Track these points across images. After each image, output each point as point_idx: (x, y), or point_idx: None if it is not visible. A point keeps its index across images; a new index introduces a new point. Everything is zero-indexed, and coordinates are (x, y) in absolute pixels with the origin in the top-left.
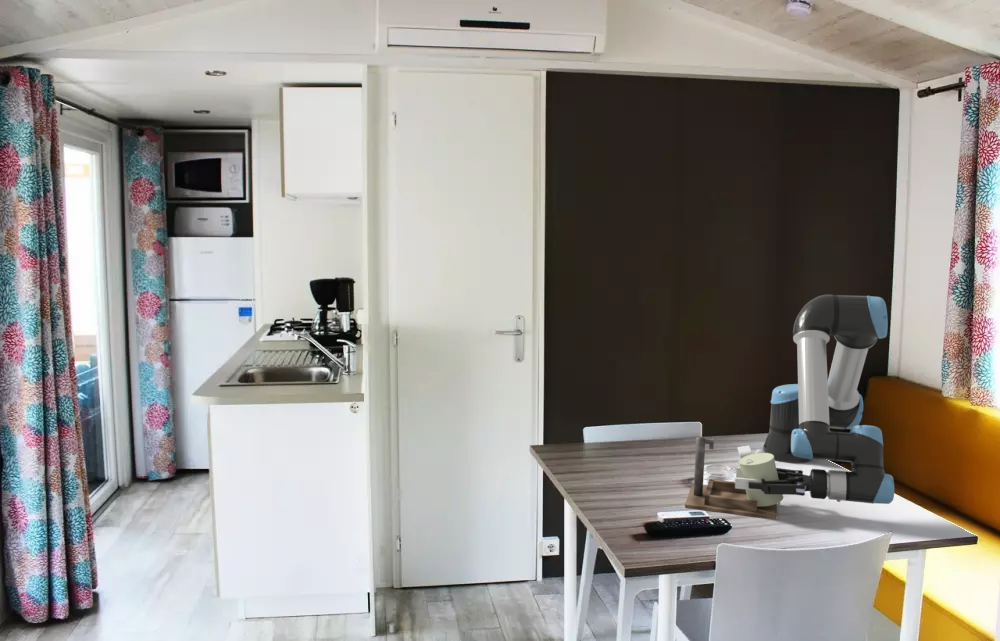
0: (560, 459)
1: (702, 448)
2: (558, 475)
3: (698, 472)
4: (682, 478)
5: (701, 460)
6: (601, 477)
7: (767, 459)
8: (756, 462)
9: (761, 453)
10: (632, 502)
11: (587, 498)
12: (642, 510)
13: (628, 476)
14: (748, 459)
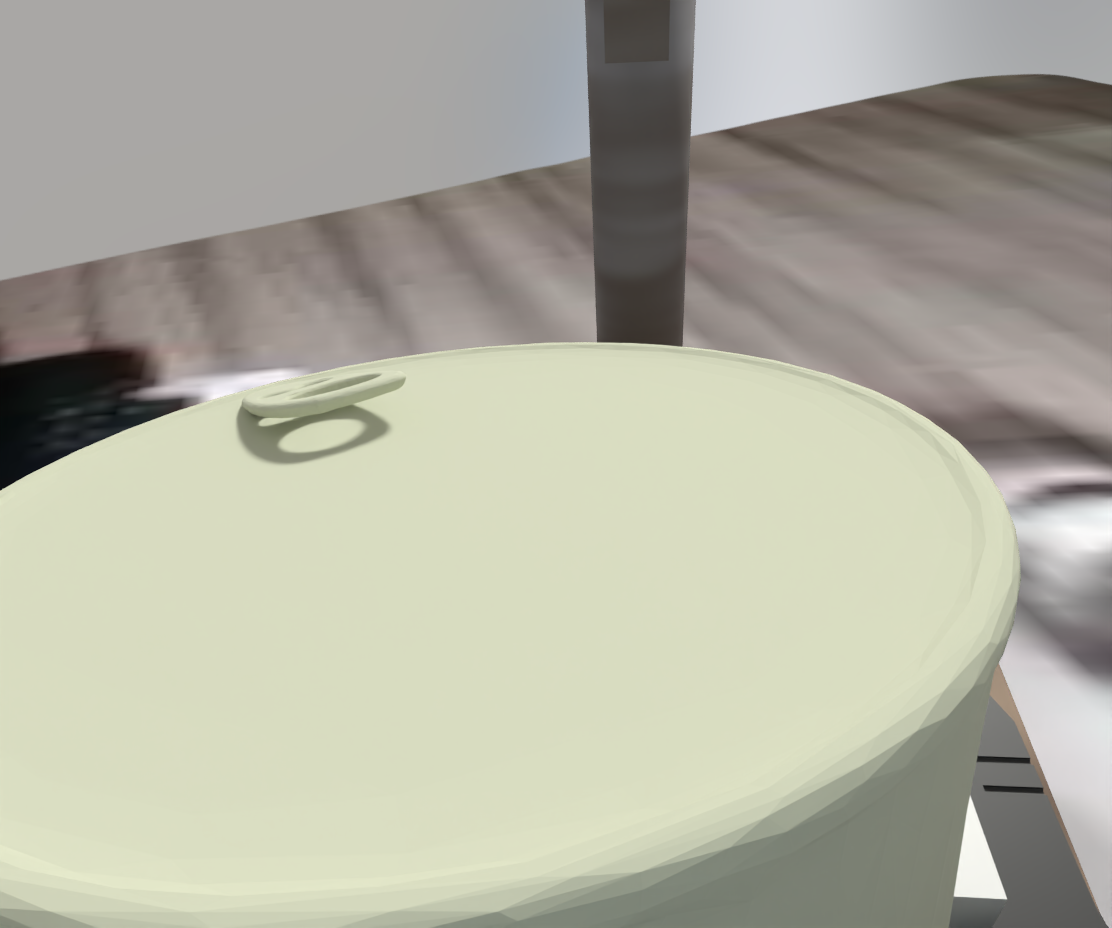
0: (913, 113)
1: (593, 32)
2: (701, 135)
3: (596, 301)
4: (1055, 410)
5: (596, 185)
6: (762, 195)
7: (79, 684)
8: (159, 496)
9: (952, 538)
10: (435, 292)
11: (452, 205)
12: (319, 326)
13: (854, 243)
14: (383, 372)
